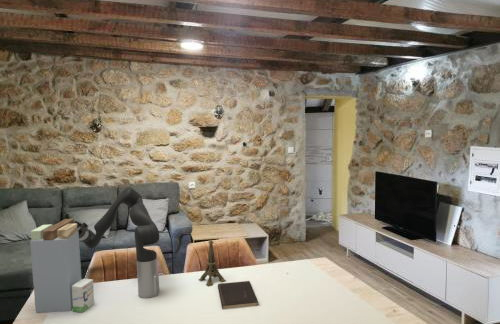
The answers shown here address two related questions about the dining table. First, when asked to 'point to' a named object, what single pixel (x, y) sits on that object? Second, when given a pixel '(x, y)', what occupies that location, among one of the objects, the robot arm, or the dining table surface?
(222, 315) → the dining table surface
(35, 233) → the sage bar
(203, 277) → the eiffel tower
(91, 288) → the ink box
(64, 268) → the stand
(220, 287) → the hardcover book
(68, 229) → the maple bar
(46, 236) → the walnut bar
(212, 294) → the dining table surface
